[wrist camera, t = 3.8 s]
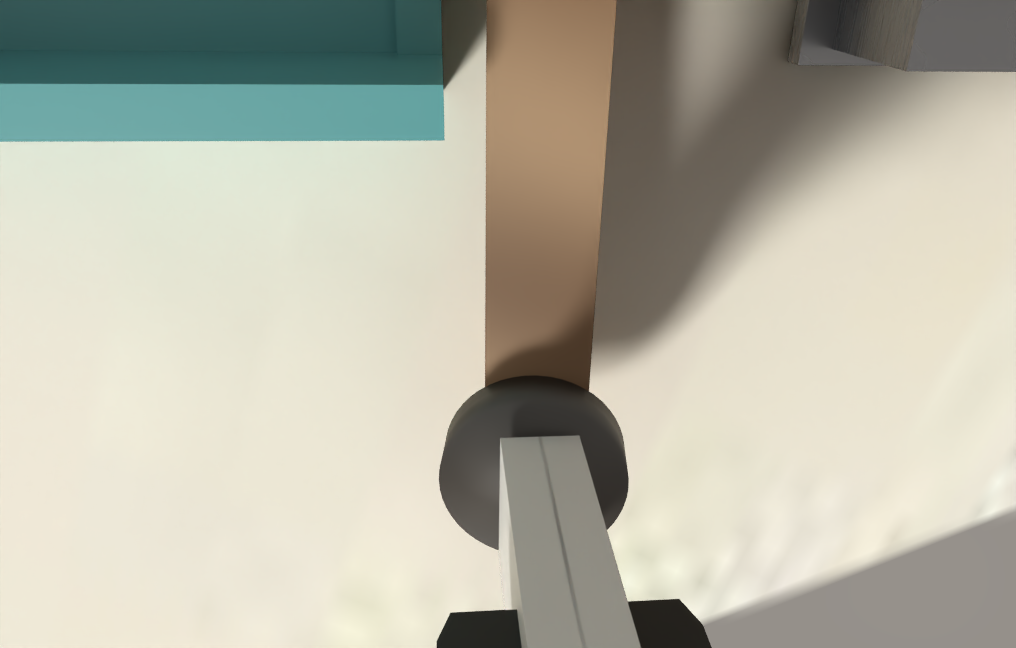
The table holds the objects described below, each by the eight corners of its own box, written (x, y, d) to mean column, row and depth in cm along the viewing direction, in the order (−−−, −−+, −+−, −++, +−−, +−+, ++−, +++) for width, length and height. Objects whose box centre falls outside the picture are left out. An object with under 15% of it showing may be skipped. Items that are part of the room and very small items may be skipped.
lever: (441, -526, 11) (395, -717, 8) (1721, -534, 10) (2252, -747, 7) (457, 464, 18) (436, 576, 15) (1199, 498, 18) (1341, 623, 15)
